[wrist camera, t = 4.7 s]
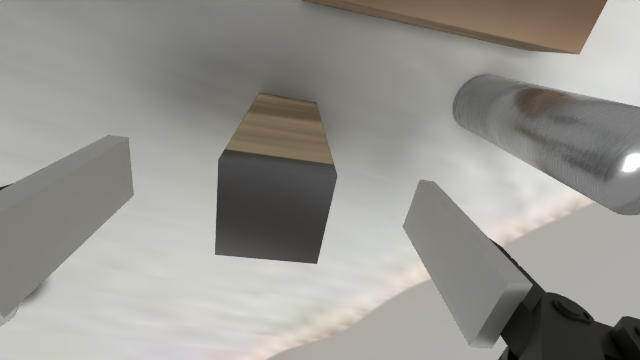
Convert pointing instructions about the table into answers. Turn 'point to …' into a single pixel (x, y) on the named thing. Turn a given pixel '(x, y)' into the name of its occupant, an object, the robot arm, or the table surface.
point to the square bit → (275, 183)
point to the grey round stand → (8, 316)
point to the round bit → (560, 135)
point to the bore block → (493, 19)
